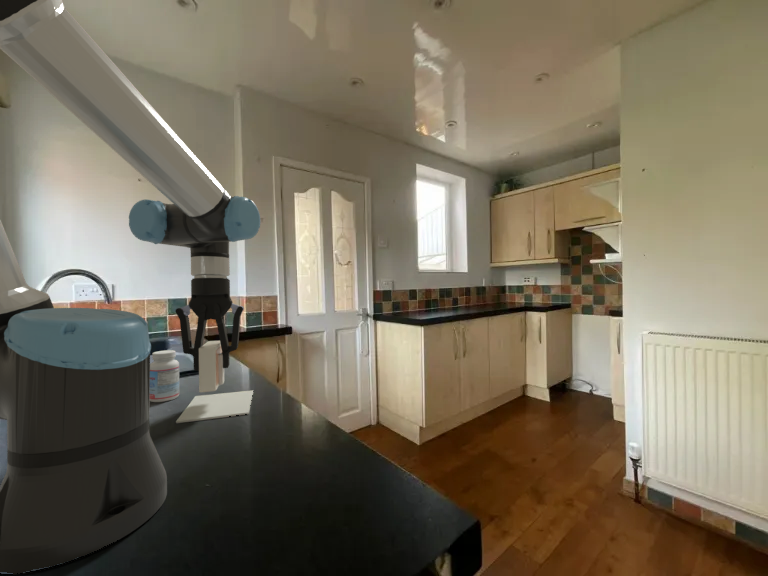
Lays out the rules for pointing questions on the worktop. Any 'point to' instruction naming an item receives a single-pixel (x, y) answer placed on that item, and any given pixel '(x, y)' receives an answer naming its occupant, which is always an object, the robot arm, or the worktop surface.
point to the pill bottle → (164, 376)
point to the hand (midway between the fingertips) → (212, 383)
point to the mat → (217, 406)
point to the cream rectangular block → (209, 366)
